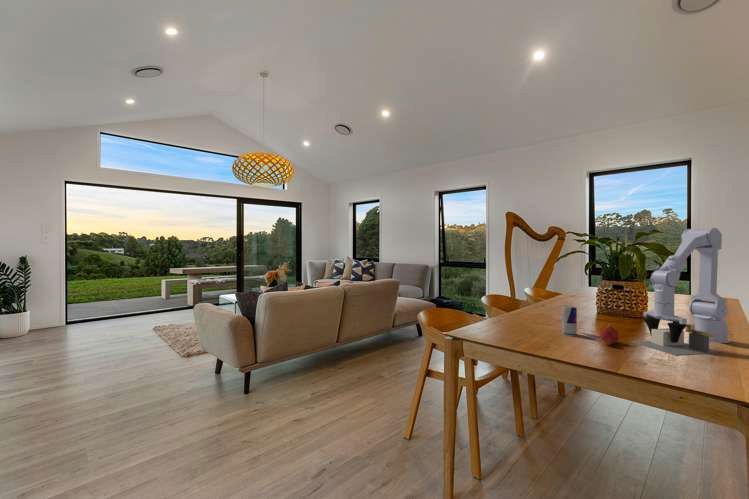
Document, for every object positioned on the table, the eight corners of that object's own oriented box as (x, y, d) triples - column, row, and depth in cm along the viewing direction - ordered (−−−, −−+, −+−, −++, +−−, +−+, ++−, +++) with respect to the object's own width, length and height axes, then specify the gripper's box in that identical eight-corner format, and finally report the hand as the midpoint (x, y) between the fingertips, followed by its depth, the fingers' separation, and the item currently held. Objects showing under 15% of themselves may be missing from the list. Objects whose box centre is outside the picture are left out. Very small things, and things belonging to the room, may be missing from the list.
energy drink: (578, 337, 143) (578, 307, 143) (564, 336, 144) (564, 307, 144) (573, 333, 148) (574, 305, 148) (560, 333, 149) (560, 305, 149)
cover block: (671, 341, 133) (671, 328, 133) (684, 344, 128) (684, 331, 128) (651, 342, 131) (651, 329, 131) (663, 345, 127) (663, 332, 127)
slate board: (667, 341, 137) (667, 325, 137) (720, 355, 119) (720, 337, 119) (627, 343, 134) (627, 327, 134) (675, 357, 116) (675, 339, 116)
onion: (596, 343, 134) (596, 322, 134) (610, 342, 134) (610, 322, 134) (607, 347, 128) (608, 326, 128) (622, 347, 129) (622, 325, 128)
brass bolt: (690, 331, 126) (690, 324, 126) (715, 336, 118) (715, 329, 118) (685, 331, 126) (685, 324, 126) (710, 337, 118) (710, 329, 118)
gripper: (637, 300, 136) (636, 335, 136) (675, 306, 122) (674, 345, 122) (652, 299, 137) (652, 334, 137) (691, 305, 123) (691, 344, 123)
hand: (664, 339), depth 129 cm, fingers open, 7 cm apart
